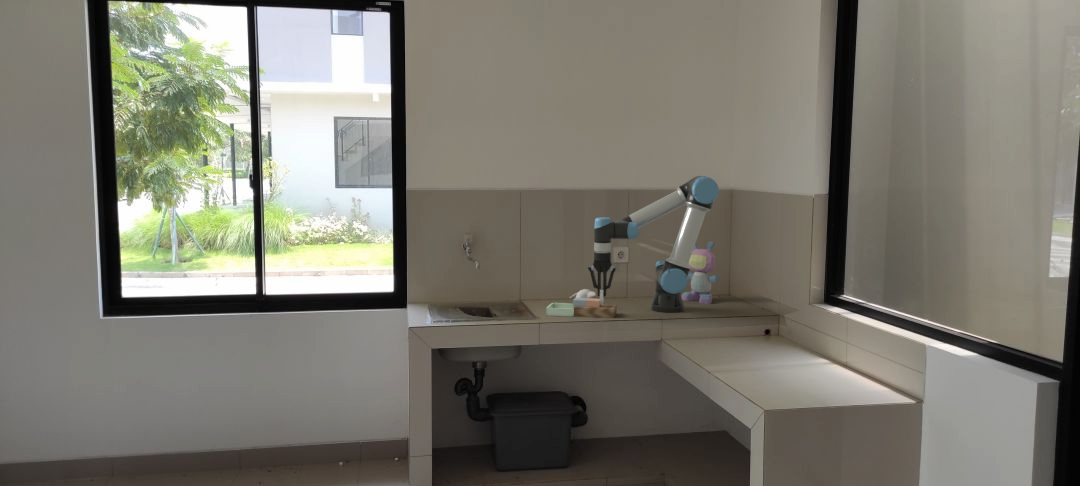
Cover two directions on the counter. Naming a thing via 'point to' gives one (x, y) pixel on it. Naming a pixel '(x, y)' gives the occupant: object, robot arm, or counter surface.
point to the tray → (560, 309)
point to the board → (596, 311)
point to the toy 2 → (701, 275)
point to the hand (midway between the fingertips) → (601, 303)
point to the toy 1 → (585, 294)
